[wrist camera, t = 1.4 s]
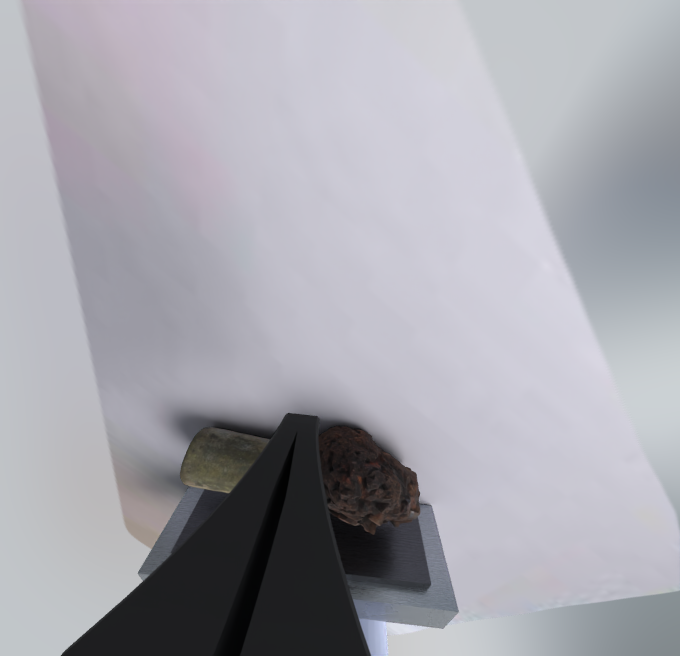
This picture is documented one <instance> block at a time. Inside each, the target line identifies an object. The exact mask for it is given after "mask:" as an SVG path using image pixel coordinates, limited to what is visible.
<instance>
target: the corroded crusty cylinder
mask: <svg viewBox="0 0 680 656" xmlns="http://www.w3.org/2000/svg"><path fill="white" fill-rule="evenodd" d="M318 438H319V454H320V462H321V470H322V477H323V483H324V489H325V494H326V500H327V504H328V509H329V512H330V513H331V514H332V515H334V516H336V517H338V518H339V519H341V520H342V521H344V522H346V523H349V524H351V525H354V526H356V525H359V524H360V525H361V526H363V527H364V530H365V531H367V532H370V533H371V534H373V535H374V534H375V532H376V527H377V526H381V525H382V524H386V523H388V521H390V522H391V523H392V525H393V526H394V527H399V524H402V523H409V522H412V520H413V519H417V517H418V516H419V515H420V513H421V511H420V505H419V502H418V501H419V496H420V492H419V489H418V482H417V475H416V473H415V472H413V471H411V469H410V468H408V467H405V466H404V465H402V464H401V463H400V462H399V461H398V460H396V459H395V458H393V457H392V456H391V455H390V454H389V453H386V452H384V451H383V450H382V449H380V448H379V447H377V445H376V443H375V442H374V441H373V440H372V436H371V435H370V434H368V433H366V432H364V431H362V430H361V429H360V430H353V429H351V428H348V427H346V426H343V427H339V426H336V427H333V428H330V429H328V431H326V432H324V433H322V434H321V435H319V436H318ZM269 441H270V439H266V438H261V437H257V436H253V435H248V434H243V433H238V432H234V431H230V430H225V429H219V428H213V427H206V428H203V429H202V430H201V431H200V432H198V433H197V435H196V436H195V437H194V439H193V440H192V442H191V443H190V445H189V447H188V450H187V452H186V454H185V457H184V460H183V463H182V466H181V472H180V477H181V480H182V482H183V483H184V484H185V485H188V486H191V487H197V488H201V489H207V490H213V491H219V492H225V493H230V492H231V490H232V489H233V488H234V487H235V486H236V484H237V483H238V482H239V481H240V479H241V478H242V477H243V476H244V474H245V473H246V472H247V471H248V469H249V468H250V467H251V466H252V464H253V463H254V462H255V460H256V459H257V458H258V456H259V455H260V453H261V452H262V451H263V449H264V448H265V447H266V445H267V444H268V442H269Z"/></svg>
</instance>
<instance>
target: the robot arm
mask: <svg viewBox="0 0 680 656" xmlns="http://www.w3.org/2000/svg"><path fill="white" fill-rule="evenodd" d="M319 421H320V419H319V418H318V417H317V416H310V415H301V414H292V413H288V414H286V415H285V417H284V419H283V420H282V422H281V424H280V425H279V427H278V429H277V430H276V432H275V433H274V435H273V436H272V438H271V439H270V441H269V442H268V444H267V445H266V447H265V448H264V449H263V451H262V452H261V453H260V455H259V456H258V458H257V459H256V460H255V462H254V463H253V464H252V466H251V467H250V468H249V469H248V471H247V472H246V473H245V474H244V476H243V477H242V478H241V479H240V481H239V482H238V483H237V484H236V486H235V487H234V488H233V489H232V490H231V492H230V493H229V494H228V495H227V496H226V497H225V499H224V500H223V501H222V502H221V503H220V504H219V505H218V506H217V507H216V509H215V510H214V511H213V512H212V513H211V514H210V515H209V516H208V517H207V518H206V519H205V521H204V522H203V523H202V524H201V525H200V526H199V527H198V528H197V529H196V530H195V531H194V532H193V533H192V534H191V535H190V536H189V537H188V538H187V539H186V540H185V541H184V542H183V543H182V544H181V545H180V546H179V547H178V548H177V549H176V550H175V551H174V552H173V553H172V554H171V555H170V556H169V557H168V558H167V559H166V560H165V561H164V562H163V563H162V564H161V565H160V566H159V567H158V568H156V569H155V570H154V571H153V572H152V573H151V574H150V575H149V576H148V577H147V578H146V579H145V580H144V581H143V582H142V583H141V584H140V585H139V586H138V587H136V588H135V589H134V590H133V591H132V592H131V593H130V594H129V595H128V596H127V597H126V598H125V599H123V600H122V601H121V602H120V603H119V604H118V605H116V606H115V607H114V608H113V609H112V610H111V611H110V612H109V613H107V614H106V615H105V616H104V617H103V618H102V619H101V620H99V621H98V622H97V623H96V624H95V625H94V626H93V627H91V628H90V629H89V630H88V631H87V632H86V633H85V634H83V635H82V636H81V637H80V638H79V639H78V640H77V641H76V642H74V643H73V644H72V645H71V646H70V647H69V648H68V649H67V650H65V651H64V652H63V654H62V655H61V656H388V644H387V630H386V622H384V621H376V620H368V619H359V618H358V614H357V611H356V608H355V605H354V602H353V599H352V596H351V592H350V589H349V585H348V582H347V578H346V575H345V571H344V568H343V565H342V561H341V558H340V554H339V551H338V547H337V543H336V539H335V535H334V531H333V527H332V522H331V518H330V514H329V509H328V504H327V500H326V494H325V489H324V483H323V477H322V470H321V462H320V454H319V438H318V435H319Z"/></svg>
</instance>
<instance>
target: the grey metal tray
mask: <svg viewBox="0 0 680 656" xmlns="http://www.w3.org/2000/svg"><path fill="white" fill-rule="evenodd" d="M228 494H229V493H225V492H219V491H213V490H207V489H201V488H197V487H191V486H189V488H188V489H187V491H186V493H185V494H184V496H183V498H182V499H181V501H180V503H179V505H178V506H177V508H176V510H175V511H174V513H173V515H172V516H171V518H170V520H169V521H168V523H167V525H166V526H165V528H164V530H163V531H162V533H161V535H160V536H159V538H158V540H157V542H156V543H155V545H154V547H153V548H152V550H151V552H150V553H149V555H148V557H147V558H146V560H145V562H144V563H143V565H142V567H141V568H140V570H139V572H138V575H139V576H140V577H141V579H142V580H143V581H144V580H145V579H146V578H147V577H148V576H149V575H150V574H151V573H152V572H153V571H154V570H155V569H156V568H158V567H159V566H160V565H161V564H162V563H163V562H164V561H165V560H166V559H167V558H168V557H169V556H170V555H171V554H172V553H173V552H174V551H175V550H176V549H177V548H178V547H179V546H180V545H181V544H182V543H183V542H184V541H185V540H186V539H187V538H188V537H189V536H190V535H191V534H192V533H193V532H194V531H195V530H196V529H197V528H198V527H199V526H200V525H201V524H202V523H203V522H204V521H205V519H206V518H207V517H208V516H209V515H210V514H211V513H212V512H213V511H214V510H215V509H216V507H217V506H218V505H219V504H220V503H221V502H222V501H223V500H224V499H225V497H226V496H227V495H228ZM419 505H420V511H421V513H420V515H419V516H418V517H417V519H413V520H412V522H409V523H402V524H399V527H394V526H393V525H392V523H391V522H390V521H388V523H386V524H382V525H381V526H377V527H376V532H375V534H374V535H373V534H371V533H370V532H367V531H365V530H364V527H363V526H361V525H360V524H359V525H356V526H354V525H351V524H349V523H346V522H344V521H342V520H341V519H339V518H338V517H336V516H334V515H332V514H331V513H330V512H329V514H330V518H331V522H332V527H333V531H334V535H335V539H336V543H337V547H338V551H339V554H340V558H341V561H342V565H343V568H344V571H345V575H346V578H347V582H348V585H349V589H350V592H351V596H352V599H353V602H354V605H355V608H356V611H357V614H358V618H359V619H368V620H376V621H384V622H392V623H401V624H409V625H417V626H425V627H434V628H442V629H443V628H444V627H445V626H446V625H447V624H448V623H449V622H450V621H451V620H452V619H453V618H454V616H455V615H456V614H457V613H458V612H459V611H458V607H457V603H456V599H455V595H454V591H453V587H452V583H451V579H450V576H449V572H448V568H447V564H446V560H445V556H444V552H443V548H442V544H441V540H440V536H439V532H438V528H437V524H436V521H435V517H434V513H433V509H432V506H429V505H421V504H419Z"/></svg>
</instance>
